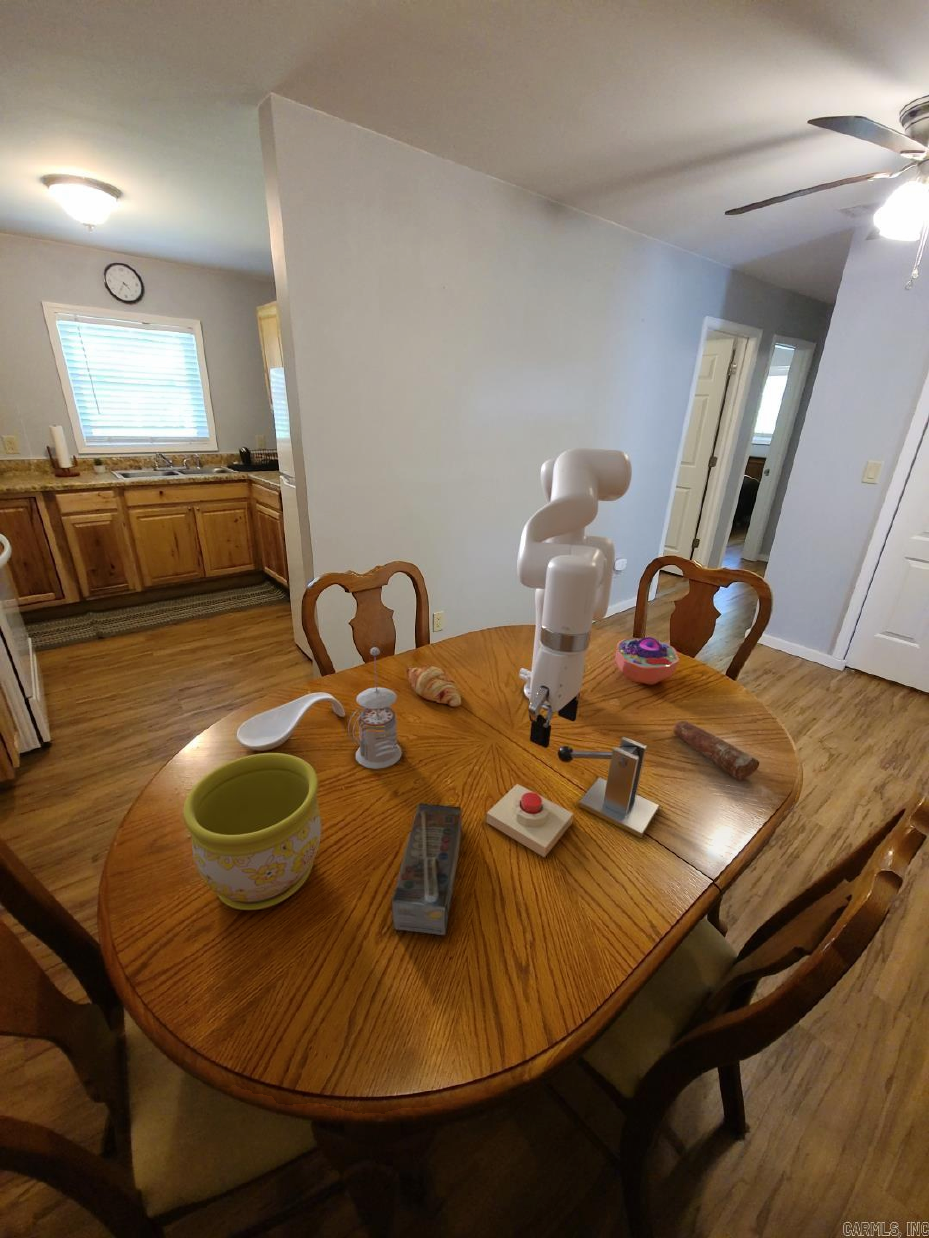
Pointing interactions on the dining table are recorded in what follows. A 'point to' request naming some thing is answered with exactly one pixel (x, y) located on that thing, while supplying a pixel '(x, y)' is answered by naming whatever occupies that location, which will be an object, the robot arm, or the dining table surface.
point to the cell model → (646, 659)
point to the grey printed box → (428, 870)
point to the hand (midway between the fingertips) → (553, 730)
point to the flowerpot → (255, 828)
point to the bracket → (622, 792)
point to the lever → (589, 753)
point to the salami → (717, 750)
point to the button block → (530, 821)
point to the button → (531, 803)
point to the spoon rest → (280, 722)
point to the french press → (377, 713)
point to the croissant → (434, 685)
